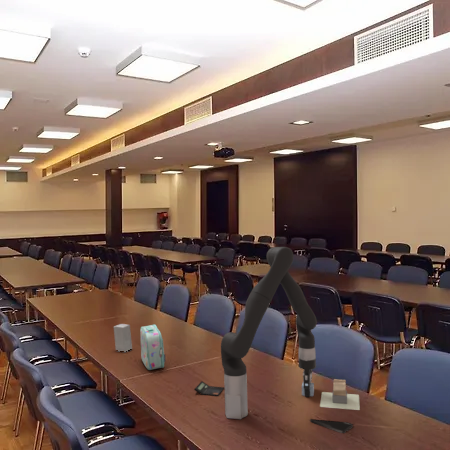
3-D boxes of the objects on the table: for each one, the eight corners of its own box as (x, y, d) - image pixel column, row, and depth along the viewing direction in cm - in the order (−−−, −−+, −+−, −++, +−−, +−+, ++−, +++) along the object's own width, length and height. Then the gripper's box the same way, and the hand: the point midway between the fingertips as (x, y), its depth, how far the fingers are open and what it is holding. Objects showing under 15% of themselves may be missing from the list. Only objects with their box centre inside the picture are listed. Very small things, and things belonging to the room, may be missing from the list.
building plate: (359, 411, 187) (359, 410, 187) (319, 408, 191) (319, 406, 191) (358, 396, 202) (358, 394, 202) (322, 393, 206) (321, 391, 206)
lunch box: (167, 371, 242) (166, 330, 241) (148, 373, 238) (146, 333, 238) (157, 356, 267) (156, 320, 266) (139, 359, 263) (138, 322, 263)
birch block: (345, 395, 193) (345, 384, 193) (333, 395, 195) (333, 383, 194) (345, 391, 198) (345, 379, 198) (333, 390, 199) (333, 379, 199)
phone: (319, 413, 185) (353, 424, 175) (319, 415, 185) (353, 427, 175) (308, 419, 179) (343, 431, 169) (309, 422, 179) (343, 434, 169)
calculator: (218, 397, 207) (218, 390, 207) (194, 394, 210) (194, 388, 210) (224, 389, 216) (224, 382, 215) (201, 387, 219) (201, 380, 219)
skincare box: (132, 350, 281) (131, 324, 281) (124, 353, 275) (123, 327, 275) (122, 348, 286) (121, 323, 285) (114, 351, 280) (113, 325, 279)
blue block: (313, 398, 202) (313, 387, 202) (301, 397, 203) (301, 386, 203) (314, 393, 207) (313, 382, 207) (302, 393, 208) (302, 382, 208)
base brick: (347, 404, 193) (347, 396, 193) (332, 402, 194) (332, 395, 194) (347, 398, 199) (347, 391, 198) (333, 397, 200) (332, 390, 200)
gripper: (300, 351, 212) (301, 386, 213) (297, 361, 199) (297, 399, 199) (316, 352, 210) (317, 387, 211) (314, 362, 197) (315, 400, 197)
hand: (308, 393), depth 205 cm, fingers open, 7 cm apart
